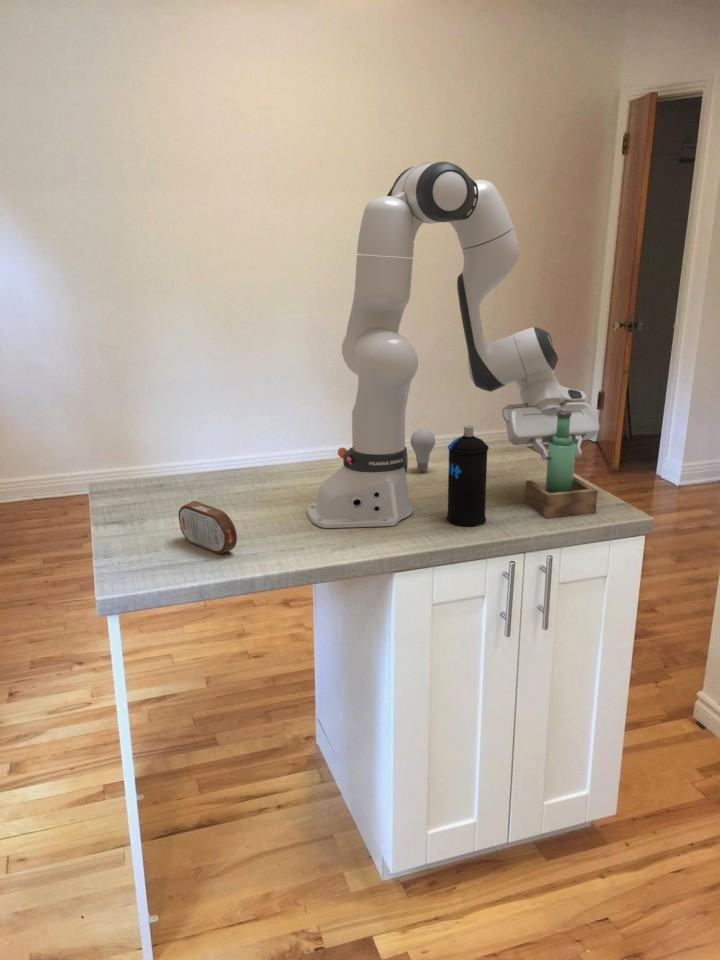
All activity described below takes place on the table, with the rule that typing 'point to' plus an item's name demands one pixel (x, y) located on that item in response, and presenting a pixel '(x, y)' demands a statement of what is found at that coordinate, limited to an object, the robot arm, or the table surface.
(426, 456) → the lightbulb
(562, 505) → the u rest
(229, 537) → the tin
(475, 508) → the aerosol can
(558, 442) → the bottle
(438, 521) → the table surface
